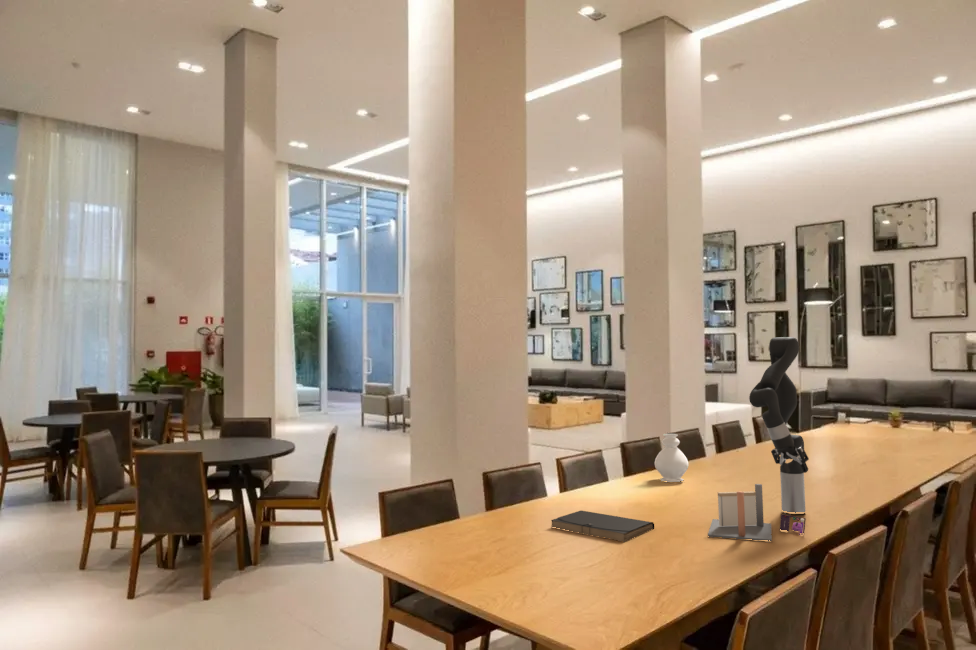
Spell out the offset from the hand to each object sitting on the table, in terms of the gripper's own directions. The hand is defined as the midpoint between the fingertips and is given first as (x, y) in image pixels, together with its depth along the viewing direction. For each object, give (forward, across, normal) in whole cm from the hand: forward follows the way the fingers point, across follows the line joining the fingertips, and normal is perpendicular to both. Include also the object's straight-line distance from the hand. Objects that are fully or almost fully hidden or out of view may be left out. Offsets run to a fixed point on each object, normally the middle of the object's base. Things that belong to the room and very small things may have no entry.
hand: (796, 472), depth 260 cm
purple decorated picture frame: (+16, -4, +20) cm, 26 cm away
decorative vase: (+10, +96, -16) cm, 98 cm away
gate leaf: (+7, +10, +31) cm, 33 cm away
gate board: (+8, +7, +33) cm, 35 cm away
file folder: (-11, +37, +72) cm, 82 cm away
